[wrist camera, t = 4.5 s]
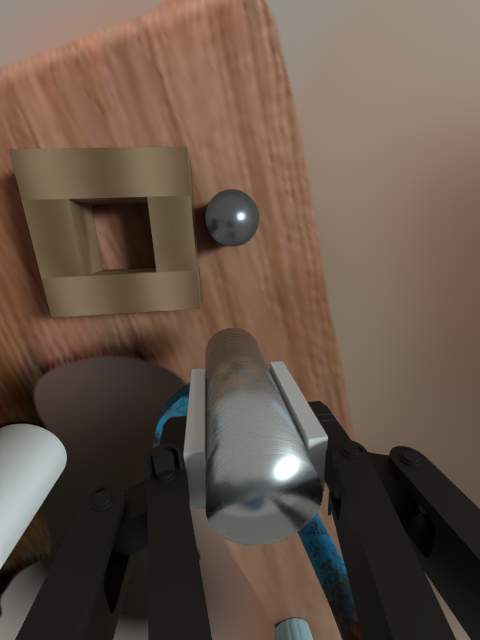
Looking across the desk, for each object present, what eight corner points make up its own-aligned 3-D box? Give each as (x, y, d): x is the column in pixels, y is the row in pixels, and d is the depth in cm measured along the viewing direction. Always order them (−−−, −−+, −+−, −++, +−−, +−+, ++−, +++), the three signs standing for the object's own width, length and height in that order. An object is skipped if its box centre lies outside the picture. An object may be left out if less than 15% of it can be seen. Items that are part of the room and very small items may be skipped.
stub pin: (208, 245, 26) (207, 247, 21) (205, 198, 25) (203, 190, 20) (250, 243, 26) (259, 245, 21) (249, 197, 25) (258, 188, 20)
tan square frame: (74, 305, 26) (51, 317, 22) (42, 163, 23) (8, 149, 19) (201, 298, 27) (200, 308, 23) (190, 161, 24) (186, 146, 20)
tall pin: (207, 379, 21) (209, 552, 10) (203, 330, 20) (200, 463, 8) (259, 374, 21) (319, 535, 10) (258, 326, 20) (326, 447, 9)
